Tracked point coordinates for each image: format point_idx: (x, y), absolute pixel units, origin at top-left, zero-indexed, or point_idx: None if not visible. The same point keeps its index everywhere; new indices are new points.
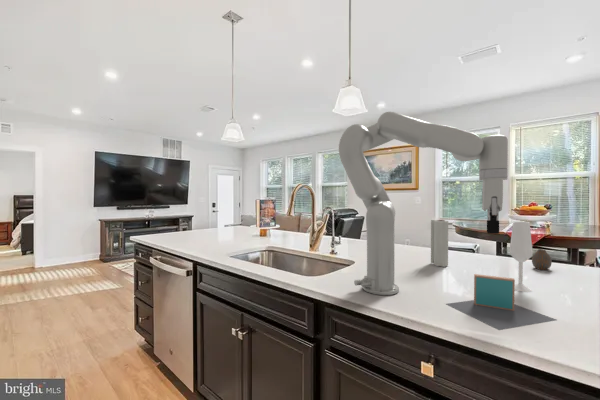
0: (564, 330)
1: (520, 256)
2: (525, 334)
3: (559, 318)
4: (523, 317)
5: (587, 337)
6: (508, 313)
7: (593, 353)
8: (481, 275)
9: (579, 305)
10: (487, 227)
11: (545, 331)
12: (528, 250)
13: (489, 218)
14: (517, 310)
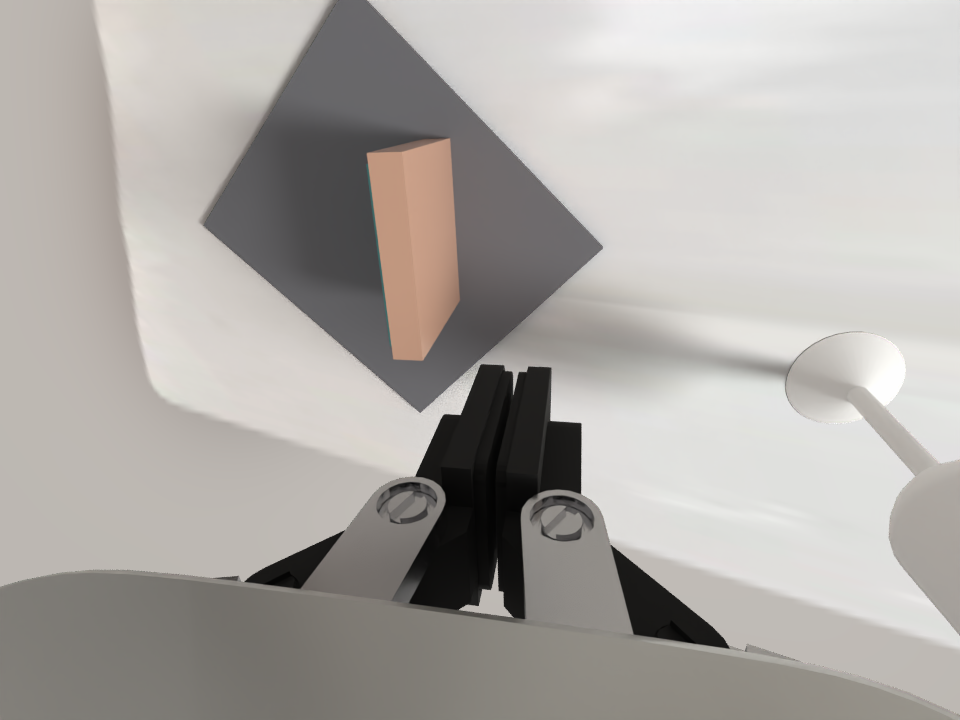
0: (356, 407)
1: (898, 502)
2: (247, 299)
3: None
4: (378, 319)
5: (339, 444)
6: None
7: (241, 423)
8: (387, 197)
9: (650, 520)
10: (465, 403)
11: (312, 357)
12: (918, 582)
13: (363, 522)
14: None
